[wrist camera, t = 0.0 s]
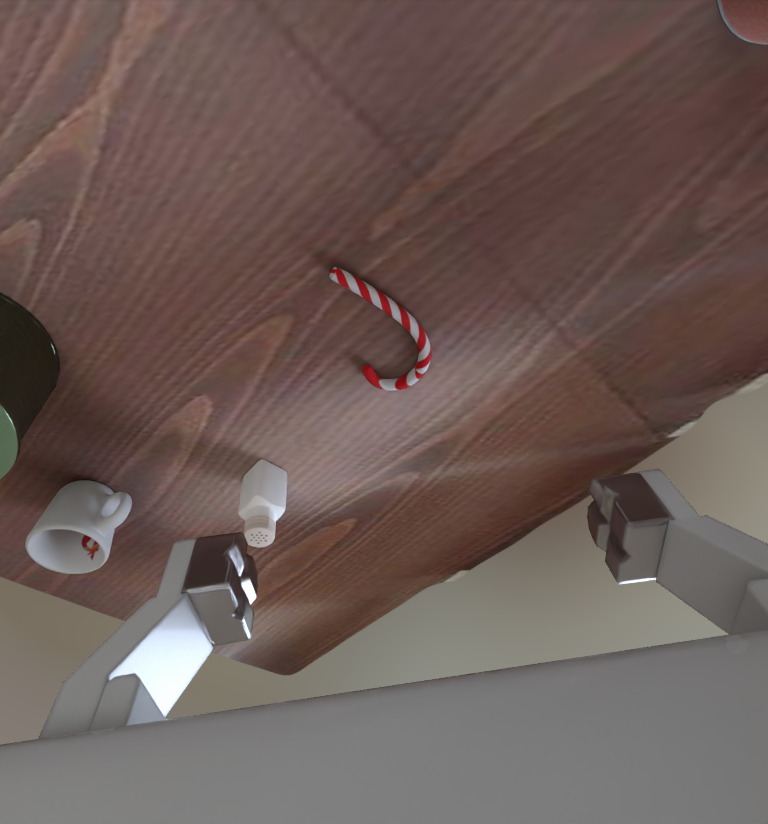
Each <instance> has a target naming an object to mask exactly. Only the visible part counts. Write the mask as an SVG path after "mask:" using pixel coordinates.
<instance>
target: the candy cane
mask: <svg viewBox="0 0 768 824" xmlns="http://www.w3.org/2000/svg"><path fill="white" fill-rule="evenodd" d="M329 277H330V279H332V280H333V281H335V282H336V283H338V284H340V285H342V286H344V287H345V288H347V289H349V290H351V291H353V292H354V293H356V294H358V295H360V296H361V297H363V298H365V299H366V300H368V301H369V302H371V303H373V304H374V305H376V306H377V307H379V308H380V309H382V310H383V311H384V312H386V313H387V314H389V315H390V316H391V317H393V318H394V319H395V320H397V321H398V322H399V323H400V324H401V325H403V326H404V327H405V328H406V329H407V330H408V331H409V332H410V334H411V335H412V336H413V338H414V339H415V341H416V343H417V346H418V350H419V356H418V360H417V363H416V365H415V366H414V368H413V369H412V370H411V371H410V372H409V373H407V374H406V375H404V376H402V377H400V378H396V379H384V378H381V377H379V376H378V375H377V374H376V373H375V372H374V370H373V368H372V367H371V365H364V366H363V367H362V373H363V375H364V376H365V378H366V379H367V380H368V381H369V382H370V383H371V384H372V385H374V386H375V387H377V388H380V389H383V390H401V389H405V388H407V387H409V386H411V385H413V384H414V383H416V382H417V381H418V380H419V379H420V378H421V377H422V376H423V375H424V374H425V372H426V370H427V368H428V366H429V364H430V360H431V347H430V343H429V340H428V337H427V335H426V333H425V332H424V330H423V328H422V327H421V326H420V324H419V323H418V322H417V321H416V319H415V318H414V317H413V316H412V315H411V314H409V313H408V312H407V311H406V310H405V309H404V308H402V307H401V306H400V305H398V304H397V303H396V302H394V301H393V300H392V299H390V298H389V297H387V296H386V295H384V294H383V293H381V292H380V291H378V290H377V289H375V288H374V287H372V286H371V285H369V284H367V283H366V282H364V281H362V280H361V279H359V278H357V277H355V276H354V275H352V274H350V273H348V272H346V271H344V270H342V269H340V268H338V267H334V268H332V270H331V272H330V275H329Z"/></svg>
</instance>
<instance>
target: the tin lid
mask: <svg viewBox="0 0 768 824" xmlns="http://www.w3.org/2000/svg"><path fill="white" fill-rule="evenodd" d="M20 445H21V441H20V432H19V428H18V424H17V422H16V420H15V417H14V415H13V413H12V412H11V410H10V408H9V407H8V405H7V404H6V403H5V401H4V400H3V399H2V398H1V396H0V479H1V478H3V477H4V476H5V475H6V474H7V473H8V472H9V471H10V469H11V468H12V466H13V465H14V463H15V461H16V460H17V457H18V455H19V451H20Z"/></svg>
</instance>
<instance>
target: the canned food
mask: <svg viewBox="0 0 768 824" xmlns="http://www.w3.org/2000/svg"><path fill="white" fill-rule="evenodd" d="M717 2H718V6H719V10H720V13H721V16H722V18H723V20H724V22H725V23H726V25H727V26H728V28H729V29H730V30H731V31H732V32H733V33H734V34H735V35H736V36H738V37H739V38H741V39H743V40H745V41H748V42H751V43H755V44H768V0H717Z"/></svg>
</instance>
